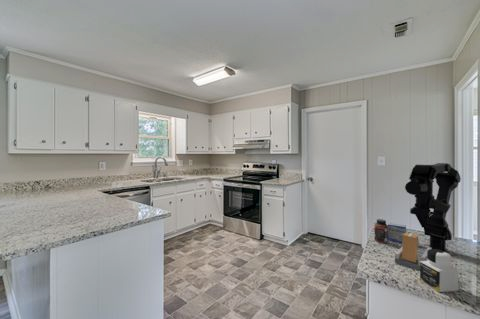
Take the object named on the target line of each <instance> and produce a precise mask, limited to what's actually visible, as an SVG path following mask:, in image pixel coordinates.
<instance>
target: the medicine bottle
mask: <svg viewBox="0 0 480 319" xmlns="http://www.w3.org/2000/svg"><path fill="white" fill-rule="evenodd" d="M451 261H452V256H451V254H450V253H449V252H448V251H447V252H445V251H442V250H438V249H429V250H428V251H427V261H420V272H419V280H420V281H421V282H422V283H423V284H425V285H427V286H428V287H430V288H432V289H433V290H435V291H436V292H438V293H443V292H444V293H445V292H458V291H459V269H457V268H454V267H452V265H451V264H452V262H451Z"/></svg>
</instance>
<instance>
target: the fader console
mask: <svg viewBox="0 0 480 319" xmlns="http://www.w3.org/2000/svg"><path fill="white" fill-rule="evenodd" d="M429 249H432V248H431V247H428V246H427V248H426V250H425V249H421V248H418V260H417V262H416V263H415V262H411V261H408V260H405V259H402V246H401V247H400V248H399V249H398V250H397V251H396V252H395V253H394V264H397V265H401V266H404V267H406V268H407V267H408V268H410V269H414V270H416V271H420V261H427V251H428V250H429Z"/></svg>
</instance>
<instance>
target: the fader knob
mask: <svg viewBox="0 0 480 319" xmlns="http://www.w3.org/2000/svg"><path fill="white" fill-rule="evenodd" d="M401 245H402V246H401V247H402V259H405V260H408V261H411V262H415V263H416V262H417V260H418V249H419V235H418V234H413V233H411V232H410V233H409V232H406V233H404V234H403V240H402V243H401Z"/></svg>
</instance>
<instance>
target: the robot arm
mask: <svg viewBox="0 0 480 319" xmlns="http://www.w3.org/2000/svg"><path fill="white" fill-rule="evenodd" d="M408 178H409V180H410V181H408V182H406V184H405V186H404V189H405V191H406V193H408V194H410V195H412V196H414V198H415V203H414V206H412V208H410V210H409V213H410V214H411V215H415V217H416V218H417V220H418V223H419V224H420V226H421V228H423V231H424V232H423V233H424V236H429V245H428V246H427V248H428V247H431V248H432V249H438V250H442V251H445V252H447V253H448V250H449V249H448V248H447V247H446V246H447V241H452V237H453V236H452V235H453V234H452V232H451V230H450V228H449V224H448V221H447V220H446V219H447V218H446V217H447V214H448V212H449V209H450V208H451V206H452V205H451V204H450V200H451V195H452V191H454V190H455V189H456V188H458V186H459V183H460V182H461V175H460V173H459V171H458V170H457V169H455V168H453V167H452V166H451V164H450V163H446V162H445V163H444V162H441V163H439V162H438V163H435V164H415V165H414V166H413V168H412V169H411V172H410V175H409V177H408ZM434 180H435V181H434ZM434 182H436V185H437V186H438V191H437V195H436V198H435V195H434V194H433V193H434V191H433V190H434ZM431 209H432V210H433V211H431Z"/></svg>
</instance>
